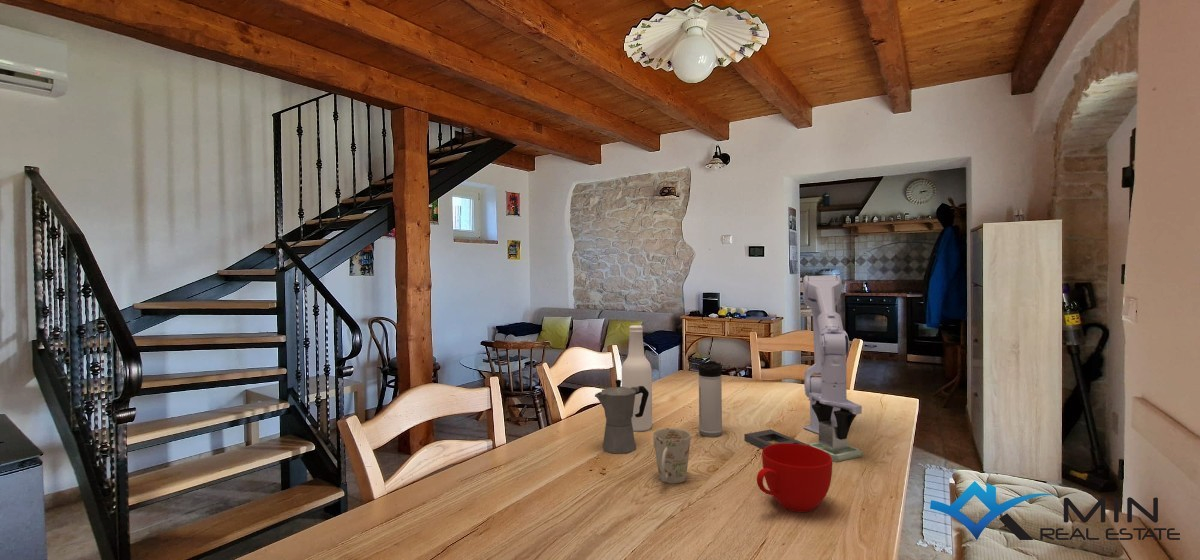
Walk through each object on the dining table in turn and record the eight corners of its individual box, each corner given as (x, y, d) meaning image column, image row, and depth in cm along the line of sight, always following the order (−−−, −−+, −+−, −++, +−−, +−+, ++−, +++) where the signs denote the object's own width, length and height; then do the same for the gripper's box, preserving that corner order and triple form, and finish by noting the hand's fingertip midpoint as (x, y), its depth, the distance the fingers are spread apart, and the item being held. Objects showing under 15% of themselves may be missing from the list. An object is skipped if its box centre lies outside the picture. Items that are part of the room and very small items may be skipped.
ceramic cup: (734, 504, 102) (733, 454, 102) (792, 485, 111) (792, 439, 110) (786, 533, 91) (786, 477, 91) (847, 509, 99) (847, 458, 99)
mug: (693, 473, 118) (693, 429, 117) (684, 496, 106) (684, 448, 106) (658, 468, 120) (657, 426, 120) (645, 491, 109) (644, 444, 108)
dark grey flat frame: (744, 440, 138) (744, 434, 138) (770, 435, 142) (770, 429, 142) (800, 467, 120) (800, 459, 120) (828, 460, 124) (828, 453, 124)
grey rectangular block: (832, 442, 131) (832, 419, 131) (846, 448, 127) (847, 424, 127) (818, 445, 130) (818, 421, 129) (832, 451, 125) (832, 427, 125)
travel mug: (724, 431, 147) (723, 361, 146) (719, 438, 141) (718, 365, 140) (702, 428, 149) (701, 360, 149) (696, 435, 143) (696, 364, 143)
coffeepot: (603, 458, 128) (602, 386, 127) (589, 445, 137) (588, 378, 136) (657, 448, 134) (656, 379, 133) (640, 437, 143) (640, 373, 142)
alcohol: (616, 428, 151) (614, 326, 150) (634, 421, 158) (632, 323, 157) (640, 434, 145) (639, 328, 144) (658, 426, 152) (656, 325, 151)
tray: (832, 444, 134) (832, 439, 134) (862, 456, 126) (862, 450, 126) (806, 450, 131) (806, 444, 131) (835, 462, 123) (835, 456, 122)
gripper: (799, 377, 133) (799, 429, 133) (846, 389, 120) (846, 447, 120) (820, 374, 136) (820, 425, 136) (868, 386, 122) (868, 442, 123)
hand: (834, 435), depth 128 cm, fingers closed on grey rectangular block, 5 cm apart
